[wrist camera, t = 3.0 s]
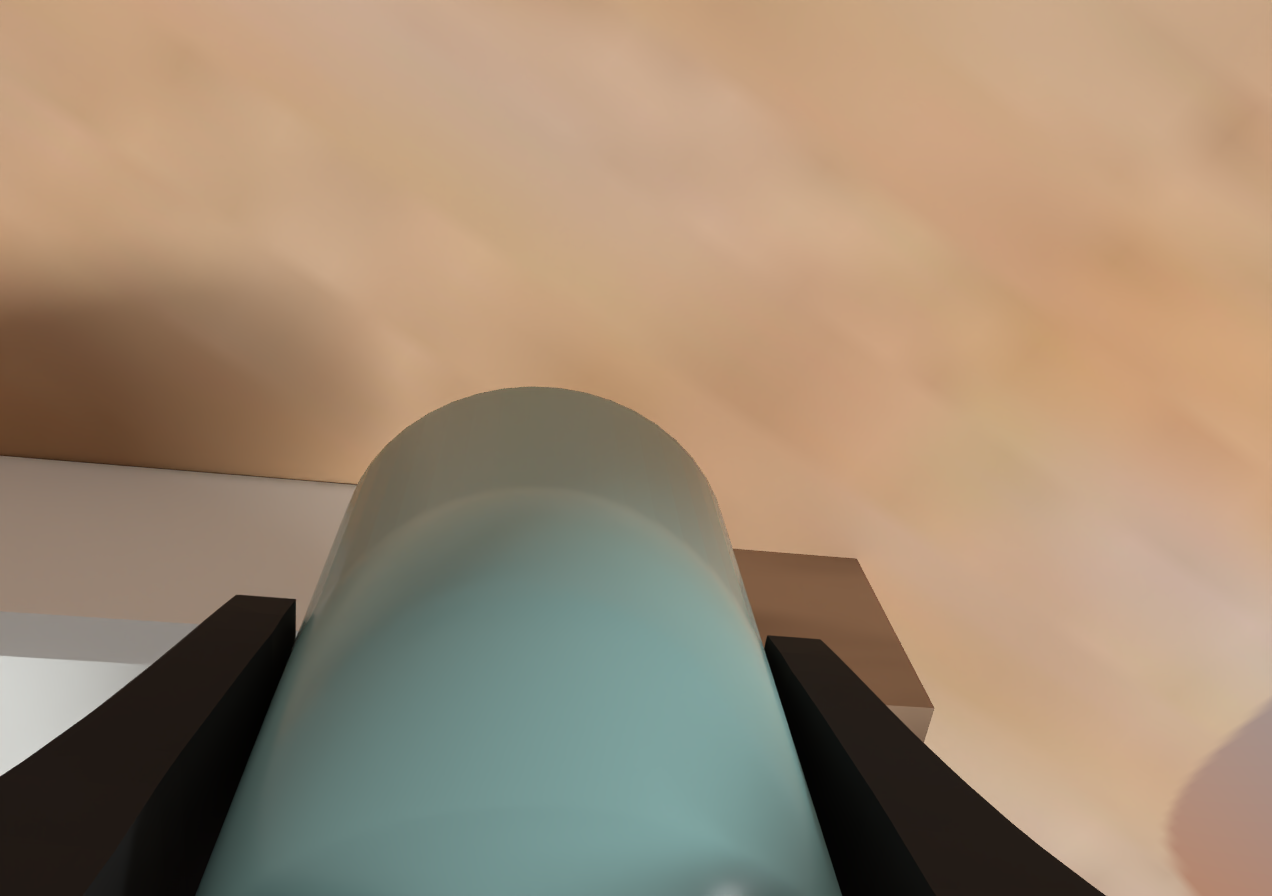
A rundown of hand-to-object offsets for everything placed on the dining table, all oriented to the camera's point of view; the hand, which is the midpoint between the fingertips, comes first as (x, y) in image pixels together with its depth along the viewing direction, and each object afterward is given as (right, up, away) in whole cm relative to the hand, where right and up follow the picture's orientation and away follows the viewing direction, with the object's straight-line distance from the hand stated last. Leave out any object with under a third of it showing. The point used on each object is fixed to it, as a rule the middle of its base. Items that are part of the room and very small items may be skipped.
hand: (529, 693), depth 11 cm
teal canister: (0, +1, +2) cm, 2 cm away
